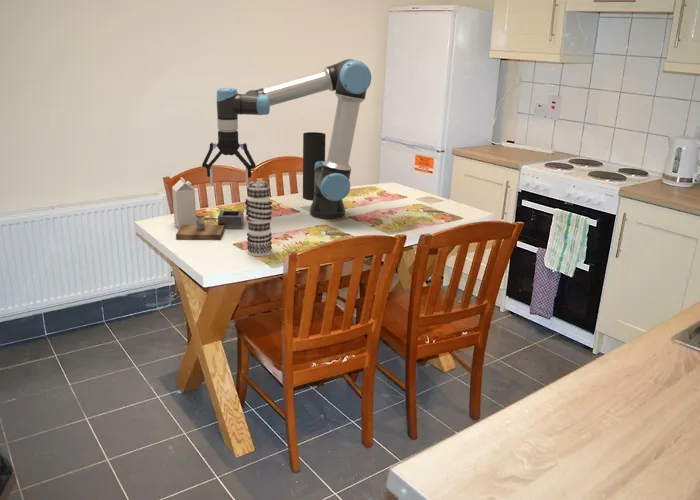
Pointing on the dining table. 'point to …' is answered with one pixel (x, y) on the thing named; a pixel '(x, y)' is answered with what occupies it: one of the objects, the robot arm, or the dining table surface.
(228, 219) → the dark grey hollow block
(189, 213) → the milk carton
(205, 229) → the stand
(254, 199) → the decorative candle
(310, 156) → the vase
